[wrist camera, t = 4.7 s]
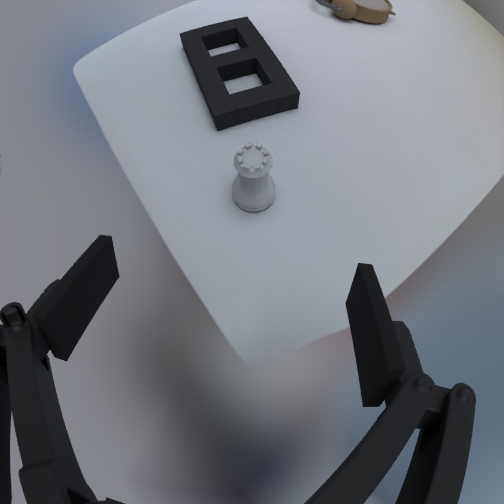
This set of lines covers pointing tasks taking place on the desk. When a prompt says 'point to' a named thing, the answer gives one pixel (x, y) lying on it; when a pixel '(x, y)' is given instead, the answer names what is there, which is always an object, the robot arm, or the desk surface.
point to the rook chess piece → (253, 178)
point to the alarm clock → (360, 9)
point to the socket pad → (238, 73)
